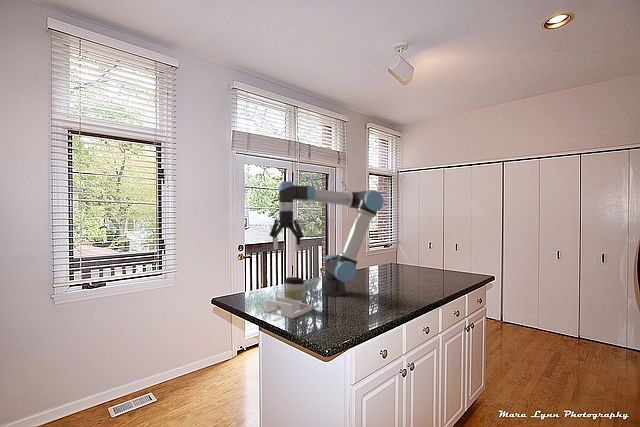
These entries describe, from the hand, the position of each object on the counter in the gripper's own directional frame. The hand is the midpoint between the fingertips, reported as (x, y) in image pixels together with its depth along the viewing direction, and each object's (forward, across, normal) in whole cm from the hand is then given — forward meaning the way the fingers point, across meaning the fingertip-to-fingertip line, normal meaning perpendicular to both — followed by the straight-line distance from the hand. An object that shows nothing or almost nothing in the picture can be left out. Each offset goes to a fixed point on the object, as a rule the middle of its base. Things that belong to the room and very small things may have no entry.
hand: (286, 250), depth 182 cm
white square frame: (+28, +9, -11) cm, 32 cm away
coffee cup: (+28, +9, -8) cm, 31 cm away
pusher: (+28, +9, -19) cm, 35 cm away
